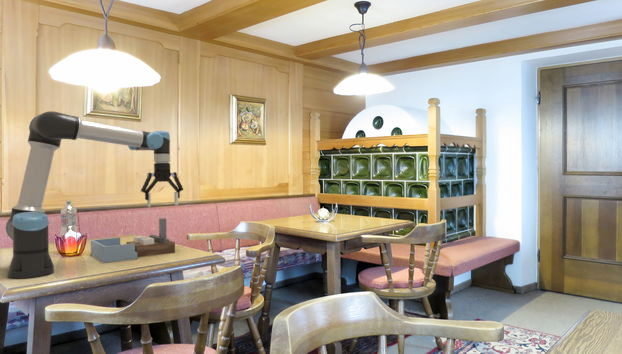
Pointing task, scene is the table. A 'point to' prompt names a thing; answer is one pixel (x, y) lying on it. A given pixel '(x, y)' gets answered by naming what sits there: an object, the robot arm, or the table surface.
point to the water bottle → (68, 218)
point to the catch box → (112, 250)
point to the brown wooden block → (154, 248)
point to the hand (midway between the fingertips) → (162, 205)
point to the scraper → (161, 232)
